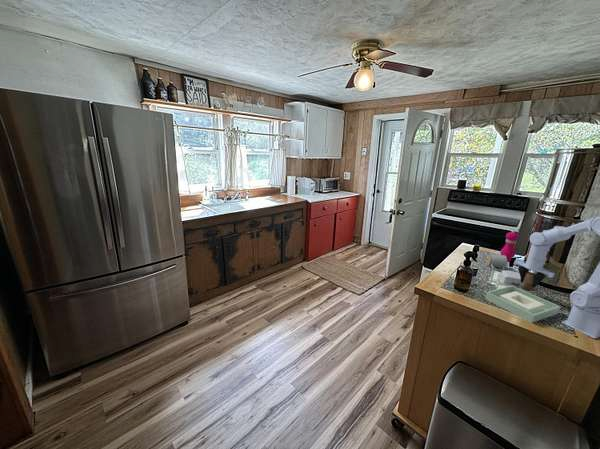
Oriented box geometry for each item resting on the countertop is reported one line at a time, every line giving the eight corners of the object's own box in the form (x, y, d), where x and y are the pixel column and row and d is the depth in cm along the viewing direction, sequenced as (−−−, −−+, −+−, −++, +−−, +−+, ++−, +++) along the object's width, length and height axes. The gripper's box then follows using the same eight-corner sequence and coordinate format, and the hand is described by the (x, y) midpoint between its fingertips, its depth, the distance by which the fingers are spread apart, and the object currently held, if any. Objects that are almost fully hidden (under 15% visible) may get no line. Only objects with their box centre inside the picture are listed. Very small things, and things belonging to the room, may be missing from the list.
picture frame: (557, 314, 104) (560, 306, 103) (531, 324, 98) (534, 315, 97) (510, 292, 120) (512, 285, 119) (484, 299, 114) (486, 291, 113)
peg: (534, 290, 117) (539, 275, 115) (529, 292, 115) (534, 276, 113) (524, 286, 120) (529, 271, 118) (519, 287, 119) (523, 272, 117)
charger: (519, 277, 136) (526, 289, 124) (498, 273, 141) (503, 284, 128) (521, 269, 135) (529, 281, 123) (500, 265, 139) (505, 276, 127)
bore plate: (542, 310, 106) (545, 304, 105) (526, 315, 102) (528, 309, 101) (513, 296, 116) (515, 291, 115) (498, 301, 112) (499, 295, 111)
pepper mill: (502, 261, 155) (511, 231, 150) (496, 257, 162) (503, 228, 156) (515, 262, 154) (524, 232, 148) (508, 258, 161) (516, 228, 155)
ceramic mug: (485, 263, 153) (488, 251, 151) (501, 265, 150) (505, 253, 147) (489, 270, 144) (492, 258, 142) (507, 273, 141) (510, 260, 138)
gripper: (562, 263, 108) (552, 290, 112) (523, 251, 121) (516, 276, 125) (552, 265, 106) (543, 293, 110) (514, 252, 119) (507, 278, 123)
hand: (528, 284), depth 117 cm, fingers closed on peg, 4 cm apart
